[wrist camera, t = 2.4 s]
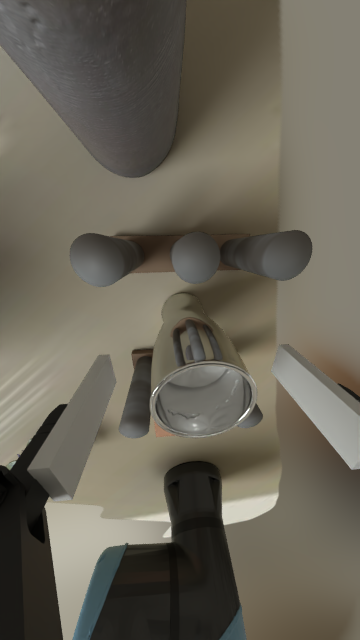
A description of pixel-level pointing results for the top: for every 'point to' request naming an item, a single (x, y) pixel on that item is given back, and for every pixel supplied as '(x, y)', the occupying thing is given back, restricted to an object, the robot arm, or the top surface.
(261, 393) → the top surface
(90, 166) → the top surface
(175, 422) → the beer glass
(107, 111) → the pillar candle
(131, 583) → the robot arm
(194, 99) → the top surface
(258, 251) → the rack
